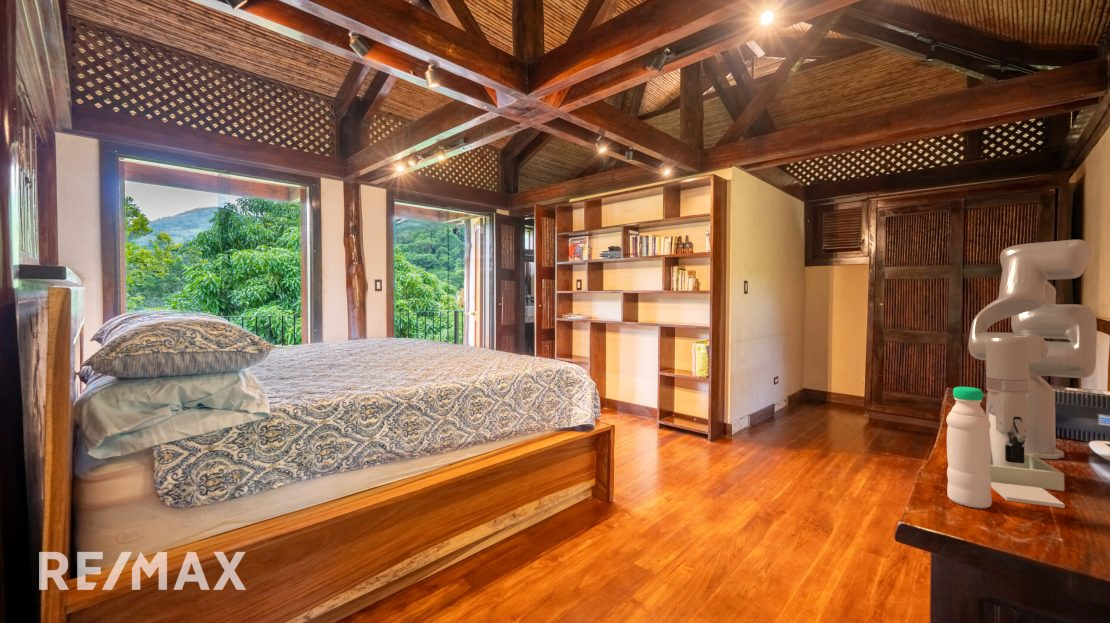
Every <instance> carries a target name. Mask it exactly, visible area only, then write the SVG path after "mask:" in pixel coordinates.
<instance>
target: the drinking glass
mask: <svg viewBox="0 0 1110 623" xmlns="http://www.w3.org/2000/svg"><path fill="white" fill-rule="evenodd" d="M989 421H990V424H991V427H990V430H989V433H990V441H991V452H992V460H993V465H997V466H1007V467H1017V468H1024V463H1014V462H1007V461H1006V460H1005V445H1008V444H1007V439H1006V432H1005V433H1000V432H998V431H997V430H996V418H995V416H994V415H991V413H989ZM1009 432H1011V433H1016V430H1015V428H1014V425H1013V427H1012V429H1011V430H1010V431H1009ZM1027 434H1028V433H1027ZM1013 437H1016V436H1012V435H1011V439H1013ZM1026 444H1027V438H1026V439H1025V447H1024V462H1025V453H1026Z"/></svg>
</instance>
